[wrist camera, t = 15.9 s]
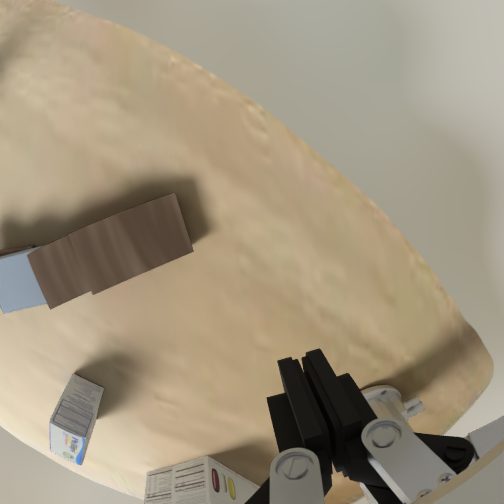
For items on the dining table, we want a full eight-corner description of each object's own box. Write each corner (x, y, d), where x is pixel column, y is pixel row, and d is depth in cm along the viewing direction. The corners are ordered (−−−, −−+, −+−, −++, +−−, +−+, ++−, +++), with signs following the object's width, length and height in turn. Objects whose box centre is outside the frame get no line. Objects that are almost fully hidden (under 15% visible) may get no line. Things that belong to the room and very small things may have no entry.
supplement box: (264, 486, 38) (273, 526, 30) (207, 502, 39) (210, 539, 30) (208, 453, 33) (211, 505, 24) (145, 471, 34) (141, 515, 25)
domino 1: (69, 242, 21) (-12, 262, 17) (81, 295, 23) (3, 313, 18) (71, 239, 23) (-6, 258, 19) (82, 288, 24) (7, 306, 20)
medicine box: (73, 371, 27) (47, 420, 19) (105, 387, 28) (86, 439, 20) (68, 406, 28) (48, 451, 20) (96, 420, 29) (81, 467, 21)
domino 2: (118, 213, 21) (26, 255, 18) (139, 269, 23) (50, 309, 19) (117, 213, 23) (32, 251, 19) (136, 265, 25) (53, 302, 21)
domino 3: (174, 192, 22) (68, 234, 18) (193, 251, 23) (93, 295, 19) (169, 194, 23) (71, 232, 20) (186, 248, 25) (93, 288, 21)
